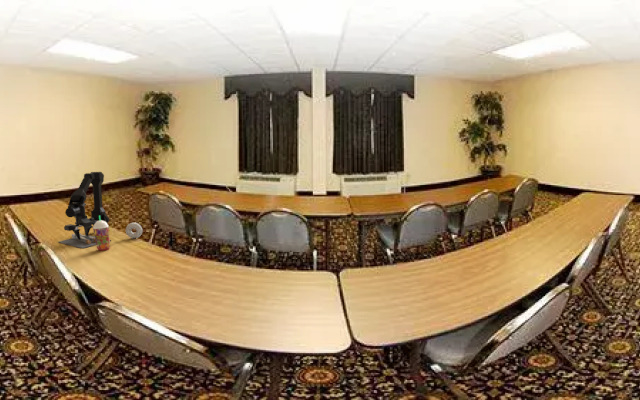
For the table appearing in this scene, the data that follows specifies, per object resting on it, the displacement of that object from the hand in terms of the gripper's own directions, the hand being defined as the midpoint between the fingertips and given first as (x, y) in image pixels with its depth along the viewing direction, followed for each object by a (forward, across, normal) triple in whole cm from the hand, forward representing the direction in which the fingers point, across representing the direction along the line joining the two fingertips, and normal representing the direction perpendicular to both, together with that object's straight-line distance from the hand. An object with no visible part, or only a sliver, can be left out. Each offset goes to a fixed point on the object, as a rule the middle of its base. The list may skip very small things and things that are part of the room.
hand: (83, 238), depth 297 cm
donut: (+2, +20, -24) cm, 31 cm away
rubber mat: (+2, 0, -2) cm, 3 cm away
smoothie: (+2, -4, -29) cm, 29 cm away
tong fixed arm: (+1, +1, -1) cm, 2 cm away
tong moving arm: (+1, -2, -3) cm, 4 cm away
